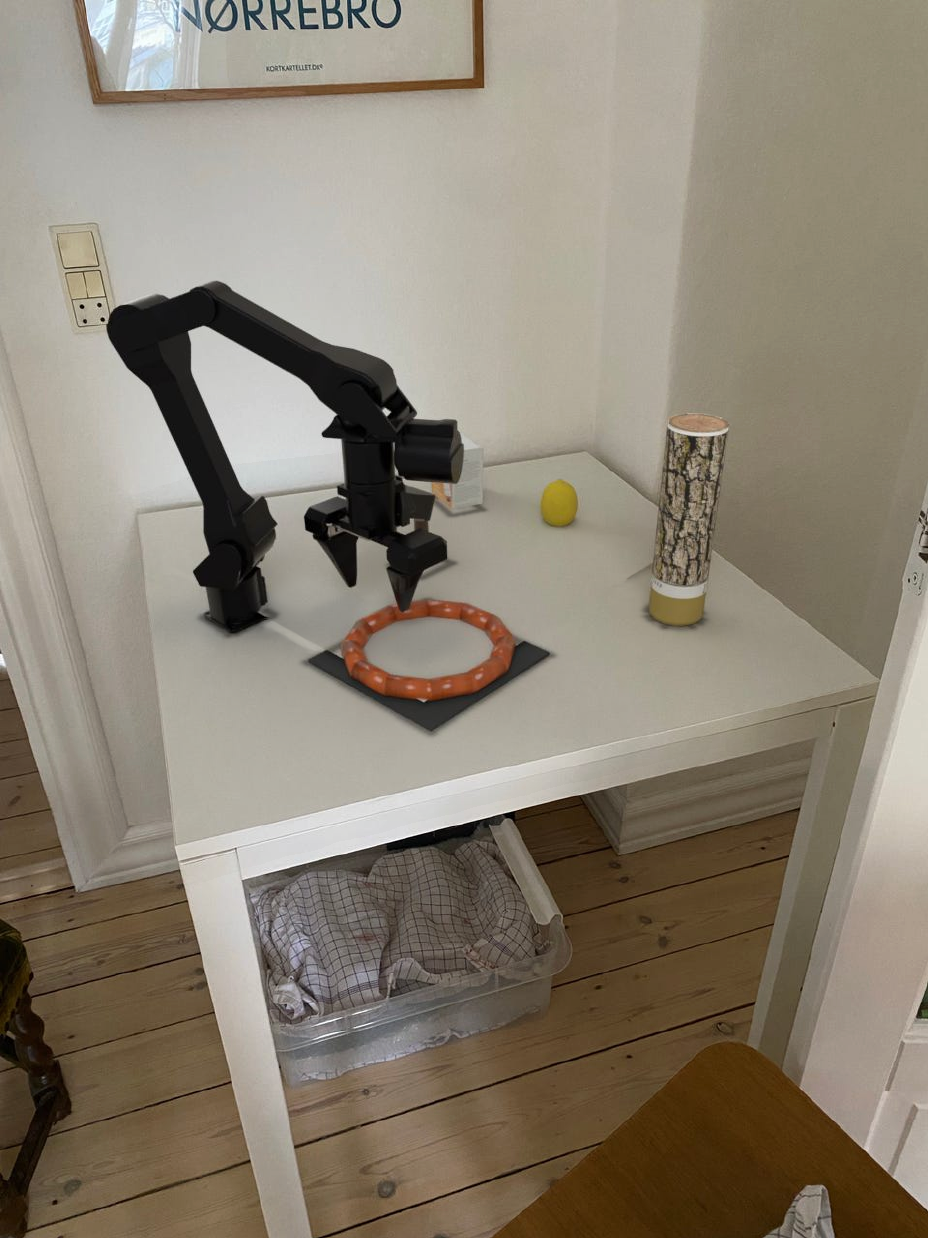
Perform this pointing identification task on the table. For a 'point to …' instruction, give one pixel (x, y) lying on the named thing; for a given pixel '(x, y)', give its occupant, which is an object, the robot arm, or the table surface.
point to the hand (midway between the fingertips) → (377, 598)
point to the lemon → (559, 503)
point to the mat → (438, 710)
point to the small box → (464, 479)
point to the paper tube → (687, 516)
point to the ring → (434, 686)
